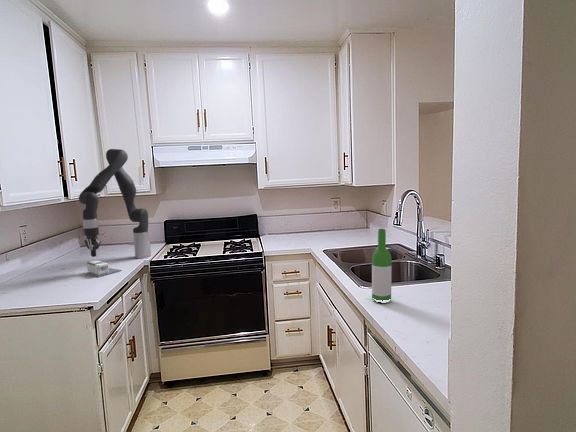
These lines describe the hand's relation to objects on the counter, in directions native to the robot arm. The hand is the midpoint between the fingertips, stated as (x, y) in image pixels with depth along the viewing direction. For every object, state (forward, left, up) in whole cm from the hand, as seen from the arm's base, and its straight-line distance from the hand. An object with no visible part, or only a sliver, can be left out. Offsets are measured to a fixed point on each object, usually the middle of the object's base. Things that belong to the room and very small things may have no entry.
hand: (93, 256), depth 201 cm
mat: (0, +8, -9) cm, 12 cm away
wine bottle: (-20, +161, -9) cm, 163 cm away
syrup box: (+1, -2, -6) cm, 6 cm away
